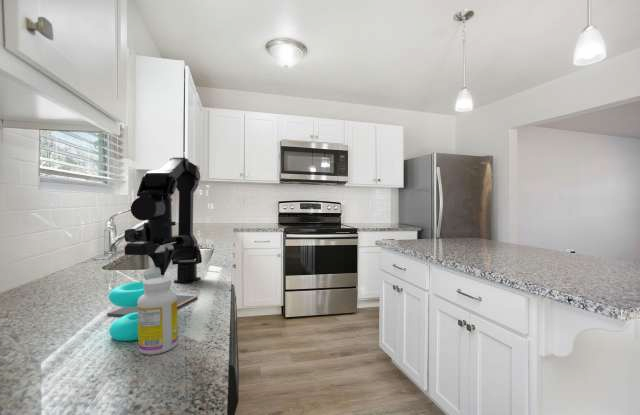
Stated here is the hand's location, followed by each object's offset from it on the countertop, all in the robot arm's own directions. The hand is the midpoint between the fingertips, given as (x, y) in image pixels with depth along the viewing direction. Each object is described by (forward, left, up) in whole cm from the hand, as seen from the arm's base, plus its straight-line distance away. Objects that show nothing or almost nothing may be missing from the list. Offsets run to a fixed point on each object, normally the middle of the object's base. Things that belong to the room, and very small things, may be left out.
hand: (161, 276), depth 83 cm
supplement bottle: (+22, +17, -8) cm, 29 cm away
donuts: (+17, +8, -8) cm, 20 cm away
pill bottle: (+1, 0, -6) cm, 6 cm away
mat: (+2, 0, -8) cm, 8 cm away
